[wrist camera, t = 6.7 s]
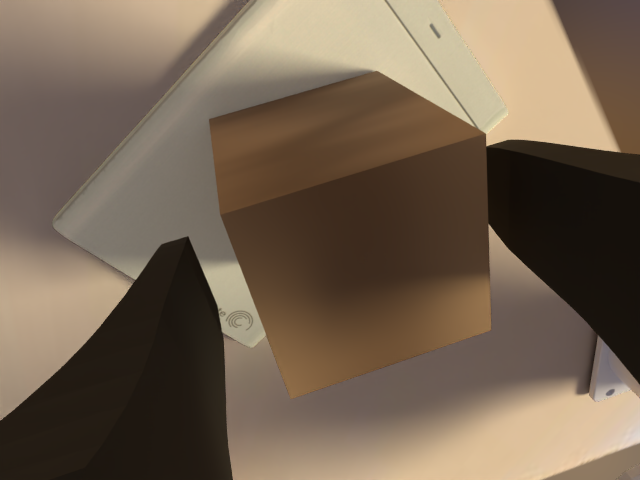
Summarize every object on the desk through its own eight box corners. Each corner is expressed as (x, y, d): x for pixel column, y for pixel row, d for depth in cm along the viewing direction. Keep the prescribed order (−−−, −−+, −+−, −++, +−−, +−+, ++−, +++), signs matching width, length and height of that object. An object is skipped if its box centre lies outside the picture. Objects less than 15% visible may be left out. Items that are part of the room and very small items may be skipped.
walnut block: (376, 70, 14) (485, 133, 9) (398, 217, 16) (491, 330, 11) (209, 119, 13) (219, 214, 8) (259, 261, 16) (290, 399, 11)
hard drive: (252, 353, 18) (516, 116, 16) (46, 229, 14) (363, -121, 11) (248, 325, 19) (489, 103, 17) (59, 205, 15) (344, -112, 13)
